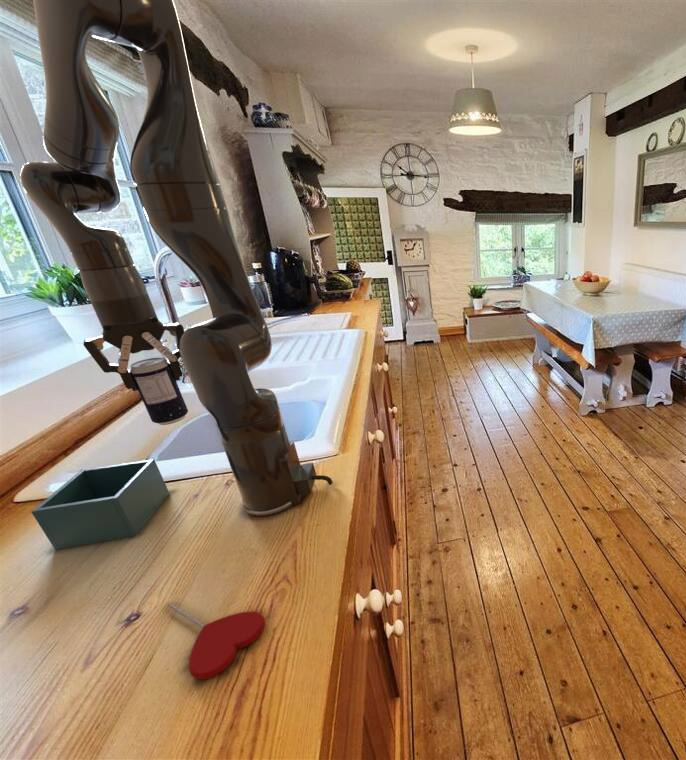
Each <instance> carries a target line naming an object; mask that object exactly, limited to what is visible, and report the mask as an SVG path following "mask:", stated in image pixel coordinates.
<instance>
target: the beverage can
mask: <svg viewBox="0 0 686 760" xmlns="http://www.w3.org/2000/svg"><path fill="white" fill-rule="evenodd" d="M130 373H131V375H132V378H133V380H134V382H135V384H136V387H137V389H138V390H137V391H138V393H139V396H140V398H141V400H142V402H143V405H144V407H145V409H146V411H147V413H148V416H149V418H150V420H151V421H152V422H151V423H155V424H158V425H160V426H167V425H172V424H175V423H178V422H181V421H182V420H184V419H185V417H186V415H187V414H188V412H189V409H188V407H187V404H186V402H185V400H184V396H183V394H182V393H181V390H180V387H179V385H178V382H177V381H176V380H175V378H174V375H173V373H172V370H171V368H170V365H169V364H168V361H167V360H165V358H164V357H152V358H146V359H142V360H139V361H135V362H133V363H131V364H130Z"/></svg>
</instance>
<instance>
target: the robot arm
mask: <svg viewBox="0 0 686 760" xmlns="http://www.w3.org/2000/svg"><path fill="white" fill-rule="evenodd" d="M32 2H33V10H34V16H35V25H36V30H37V38H38V44H39V48H40V55H41V61H42V67H43V72H44V73H43V74H44V80H45V110H44V124H43V134H42V141H43V142H42V143H43V146H44V149H45V151H46V153H47V154H48V155H49V157H50V158H51V159H53V160H54V161H53V162H50V161H32V162H31V161H30V162H27V163H26V164H24V165H22V168H21V170H20V174H19V177H20V179H19V180H20V183H21V187H22V188H23V190H24V192H25V193H26V195H27V196H28V198H29V199H30V200H31V202H32V203H33V204H34V205H35V206H36V207H37V208H38V209H39V211H40V212H41V213H42V215H44V217H45V218H46V219H47V220H48V221H49V223H50V224H51V225H52V227H53V228H54V229H55V230H56V232H57V233H58V234H59V236H60V238H61V239H62V240H63V242H64V243H65V245H66V246H67V249H68V251H69V252H70V255H71V257H72V259H73V261H74V263H75V266H76V268H77V270H78V273H79V275H80V278H81V283H82V286H83V289H84V290H85V291H84V292H85V293H86V296H87V297H88V299H89V302H90V304H91V306H92V308H93V311H94V313H95V314H96V317H97V319H98V321H99V323H100V326H101V328H102V334H101V335H100V336H97V337H93V338H85V339H84V340H83V343H82V344H83V347H84V348H85V349H86V351H87V352H88V354H89V355H90V356H91V357H92V359H93V360H94V361H95V362H96V364H97V365H98V366H99V368H100V369H101V370H102V371H103V373H106V374H107V373H117V374H119V376H120V379H121V380H122V383H123V385H124V386H125V388H126V389H127V390H132V392H137V391H138V389H137V387H136V384H135V382H134V380H133V378H132V375H131V373H130V372H131V369H129V368H128V367H129V361H130V356H131V354H132V355H133V354H138V353H140V352H143V351H153V350H156V351H158V352H159V353H160V354H161V355H163V356H164V357H165V358H166V359H167V363H168V364H169V365H170V368H171V370H172V373H173V375H174V378H175V380H176V382H177V381H181V377H183V375H184V374H183V371H182V369H181V366H180V363H179V360H180V358H181V360H182V364H183V367H184V368H185V371H186V373H187V376H188V378H189V380H190V382H191V384H192V387H193V389H194V391H195V393H196V395H197V398H198V400H199V402H200V404H201V406H202V407H203V408H204V410H206V412H207V413H208V414H209V415H210V416H211V417H212V420H213V422H214V425H215V428H216V431H217V433H218V436H219V439H220V442H221V444H222V447H223V450H224V453H225V455H226V459H227V461H228V464H229V467H230V469H231V472H232V475H233V477H234V481H235V482H236V486H237V488H238V491H239V495H240V496H241V500H242V503H243V507H244V509H245V511H246V513H247V514H249V515H250V516H255V517H265V516H271V515H275V514H278V513H281V512H283V511H285V510H287V509H289V508H291V507H293V506H297V505H300V502H301V501H302V497H303V495H307V494H308V495H309V494H312V491H313V488H314V484H315V481H316V480H317V481H318V480H319V481H320V480H322V481H326V482H327V484H328V485H329V486H331V485H333V483H334V482H333V480H332V478H331V477H330V476H327V475H322V474H321V475H317V473H316V469H315V465H314V462H309V463H308V462H307V463H303V464H301V462H300V459H299V455H298V450H297V447H296V444H295V442H294V440H291V441H290V439H289V436H288V432H287V429H286V425H285V421H284V418H283V415H282V411H281V407H280V404H279V401H278V397H277V395H276V393H275V392H274V391H273V390H272V389H269V388H266V387H265V388H263V387H254V385H253V383H252V380H251V378H250V376H249V375H250V374H249V373H250V372H252V371H253V370H255V369H257V368H258V367H260V366H262V365H263V364H264V363H265V362H267V360H268V359H269V358H270V356H271V354H272V351H273V350H272V349H273V341H272V337H271V333H270V331H269V327H268V325H267V321H266V319H265V317H264V314H263V312H262V309H261V307H260V305H259V302H258V300H257V297H256V295H255V293H254V290H253V287H252V286H251V282H250V280H249V277H248V274H247V271H246V268H245V265H244V262H243V259H242V255H241V252H240V250H239V246H238V243H237V239H236V237H235V232H234V229H233V226H232V222H231V219H230V215H229V211H228V208H227V207H228V206H227V203H226V200H225V195H224V193H223V190H222V186H221V183H220V179H219V176H218V174H217V171H216V168H215V165H214V162H213V158H212V155H211V151H210V149H209V145H208V141H207V138H206V134H205V131H204V127H203V124H202V120H201V116H200V112H199V108H198V103H197V100H196V95H195V91H194V90H195V89H194V87H193V81H192V76H191V71H190V67H189V62H188V57H187V51H186V46H185V42H184V41H185V40H184V37H183V32H182V28H181V23H180V19H179V15H178V11H177V7H176V4H175V1H174V0H32ZM90 38H95V39H99V40H103V41H107V42H111V43H114V44H117V45H118V44H119V45H122V46H126V47H130V48H134V49H136V51H137V53H138V56H139V58H140V62H141V65H142V69H143V73H144V79H145V84H146V91H147V92H146V94H147V95H146V96H147V97H146V99H147V100H146V106H145V112H144V115H143V118H142V121H141V124H140V127H139V128H138V132H137V134H136V137H135V140H134V143H133V147H132V150H131V153H130V159H129V160H130V161H129V171H130V175H131V179H132V181H133V185H135V186H134V187H135V189H136V192H137V195H138V197H139V201H140V203H141V206H142V209H143V211H144V214H145V216H146V219H147V221H148V224H149V225H150V227H151V229H152V230H153V231H154V233H155V234H156V235H157V236H158V238H159V239H160V240H161V241H162V242H163V244H164V245H165V246H166V247H167V248H168V249H169V250H170V251H171V252H172V253H173V254H174V255H175V256H176V257H177V258H178V259H179V261H181V262H182V263H183V264H184V265H185V266H186V267H187V268H188V270H190V272H192V274H193V275H194V276H195V278H196V279H197V280H198V282H199V284H200V285H201V287H202V289H203V291H204V294H205V296H206V299H207V301H208V304H209V309H210V311H211V315H212V316H211V317H212V318H211V319H208V320H205V321H202V322H200V323H197V324H194V325H192V326H190V327H188V328H187V329H185V328H184V326H183V325H182V323H180V322H175V323H167V324H165V323H163V322H161V321H160V320H159V318H158V315H157V312H156V311H155V308H154V305H153V303H152V300H151V298H150V296H149V292H148V290H147V286H146V285H145V283H144V280H143V278H142V276H141V274H140V272H139V271H138V269H137V268H136V265H135V263H134V260H133V257H132V255H131V252H130V249H129V247H128V245H127V242H126V240H125V238H124V236H123V235H122V233H121V232H119V231H117V230H115V229H112V228H106V227H105V228H104V227H95V226H90V225H88V224H86V223H85V222H83V221H82V220H81V219H80V218H79V217H78V216H77V215H76V214H89V213H90V214H91V213H93V214H94V213H109V212H111V211H113V210H115V209H117V208H118V207H119V205H120V204H121V202H122V194H121V189H120V186H119V184H118V180H117V175H116V168H115V156H116V151H117V147H118V142H119V138H120V122H119V118H118V114H117V112H116V110H115V107H114V105H113V103H112V102H111V101H110V100H111V99H109V97H108V96H107V94H106V92H105V90H104V89H103V88H102V86H101V85H100V83H99V81H98V80H97V79H96V77H95V75H94V74H93V71H92V69H91V68H90V66H89V63H88V60H87V53H86V52H87V46H88V42H89V39H90ZM166 331H167V332H169V334H170V336H172V337H174V338H175V344H176V349H175V350H173V351H172V350H171V349H169V347H168V346H166V344H164V343H163V342H162V341H161V340H162V338H163V336H164V334H165V332H166ZM105 342H106V343H108V344H110V345H112V346H113V347H115V348H117V349H119V351H118V357H117V358H118V359H117V363H111V362H110V361H109V360H108V358H107V357H106V356H105V354H104V353H103V351H102V350H104V347H105V346H104V343H105Z"/></svg>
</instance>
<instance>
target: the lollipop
mask: <svg viewBox="0 0 686 760" xmlns="http://www.w3.org/2000/svg"><path fill="white" fill-rule="evenodd" d="M166 606H167V607H169V608H170V609H171V610H173V611H174V612H176V613H178V614H180V615H181V616H182V617H184V618H186V619H187V620H189V621H191V622H192V623H193V624H195V625H197V626H198V627H199V628H201V629H200V632H199V633H198V635H197V638H196V640H195V641H194V644H193V645H192V649H191V652H190V655H189V659H188V670H189V673H190V675H191V676H192V677H193V678H195V679H198V680H208V679H211V678H214V677H215V676H217V675H219V674H220V673H222V672H223V671H225V670H226V669H227V668H228V667H229V666H230V665H231V664H232V662H233V661H234V659H235V657H236V655H237V651H238V649H243V648H246V647H247V646H249V645H251V644H252V643H254V642H256V640H257V639H258V638H259V637H260V636H261V635H262V633H263V631H264V629H265V626H266V619H265V617H264V615H263V614H262V613H261V612H258V611H243V612H242V611H241V612H238V613H233V614H230V615H227V616H224V617H221V618H219V619H216V620H213V621H211V622H208V623H206V624H204V623H202V622H201V621H199V620H198V619H196V618H194V617H193V616H191V615H190V614H188V613H186V612H185V611H183V610H182V609H180V608H179V607H177V606H176V605H174V604H172V603H171V602H168V603H167V604H166Z"/></svg>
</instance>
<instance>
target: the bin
mask: <svg viewBox="0 0 686 760" xmlns="http://www.w3.org/2000/svg"><path fill="white" fill-rule="evenodd" d="M157 464H158V463H157V462H156V461H155V459H154V458H153V459H147V460H146V459H145V460H140V461H133V462H132V461H131V462H124V463H118V464H112V465H105V466H98V467H91V468H90V467H89V468H84V469H83V468H82V469H81V470H80V471H78V472H77V473H76V474H75V475H73V476H72V477H71V478H69V480H67V481H66V482H65V483H64V484H62V485H61V486H60V487H59V488H58V489H56V490H55V491H54V492H53V493H52V494H50V495H49V496H48V497H46V499H44V500H43V501H42V502H40V504H38V505H37V506H36V507H34V508H33V509H32V510H31V511H30V512H31V515H32V516H33V518H34V519H35V521H36V522H37V523H38V525H39V527H40V528H41V530H42V532H43V533H44V535H45V536H46V538H47V539H48V541H49V542H50V544H51V545H52V547H53V549H54V550H56V551H57V550H61V549H62V550H63V549H66V548H73V547H79V546H84V545H85V546H86V545H89V544H95V543H100V542H107V541H112V540H117V539H118V540H119V539H123V538H128V537H134V536H137V535H138V533H139V532H140V531H141V530H142V529H143V527H144V526H145V525H146V524H147V523H148V521H149V520H150V519H151V517H152V515H154V514H155V512H156V511H157V510H158V509H159V507H160V506H161V505H162V504H163V502H164V501H165V499H167V497H168V496H169V495H170V491H169V489H168V487H167V484H166V482H165V480H164V478H163V476H162V473H161V471H160V469H159V466H158V465H157Z"/></svg>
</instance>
